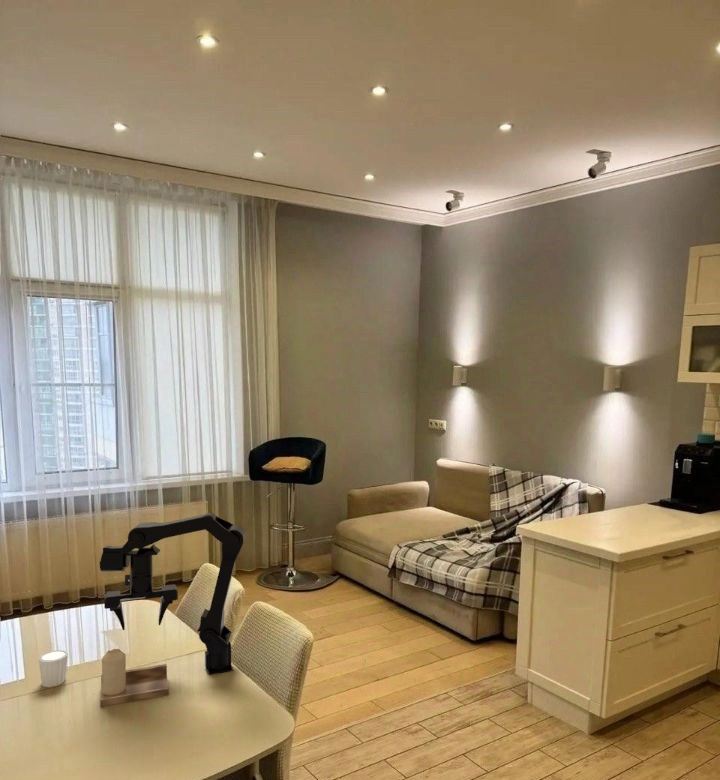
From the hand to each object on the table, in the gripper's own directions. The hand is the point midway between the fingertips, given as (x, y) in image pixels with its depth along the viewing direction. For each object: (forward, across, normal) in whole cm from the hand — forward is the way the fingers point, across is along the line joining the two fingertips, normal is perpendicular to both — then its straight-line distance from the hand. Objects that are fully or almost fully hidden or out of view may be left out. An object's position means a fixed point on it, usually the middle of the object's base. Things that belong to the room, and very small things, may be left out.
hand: (141, 627), depth 167 cm
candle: (+11, +7, +12) cm, 17 cm away
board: (+12, +2, +12) cm, 17 cm away
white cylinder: (+12, +22, -2) cm, 25 cm away
